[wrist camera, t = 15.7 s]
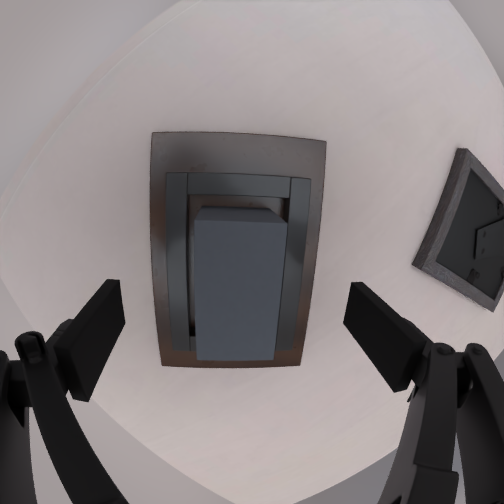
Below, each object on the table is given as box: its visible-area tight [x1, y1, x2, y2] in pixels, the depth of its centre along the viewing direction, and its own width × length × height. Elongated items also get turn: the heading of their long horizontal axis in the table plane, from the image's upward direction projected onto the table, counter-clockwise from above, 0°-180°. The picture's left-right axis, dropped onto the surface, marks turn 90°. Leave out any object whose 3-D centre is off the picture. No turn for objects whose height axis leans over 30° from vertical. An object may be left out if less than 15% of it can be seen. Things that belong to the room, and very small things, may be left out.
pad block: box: [194, 206, 288, 361], centre depth 19 cm, size 9×5×6 cm, turn 177°
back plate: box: [150, 132, 327, 368], centre depth 22 cm, size 20×13×2 cm, turn 177°
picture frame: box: [412, 148, 504, 312], centre depth 25 cm, size 13×2×18 cm
